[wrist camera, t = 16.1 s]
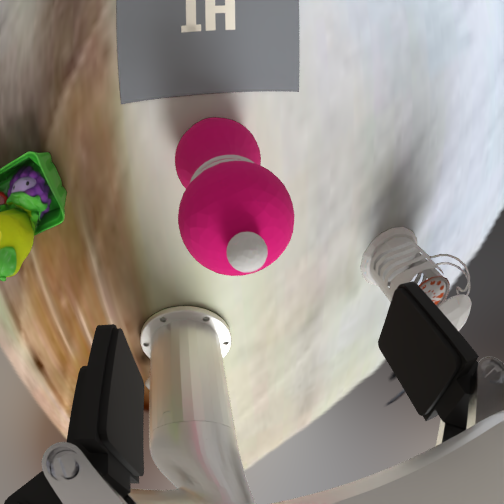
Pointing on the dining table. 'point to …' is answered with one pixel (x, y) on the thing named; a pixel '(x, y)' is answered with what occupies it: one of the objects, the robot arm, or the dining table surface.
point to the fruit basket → (27, 206)
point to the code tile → (206, 47)
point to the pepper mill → (230, 200)
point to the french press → (413, 272)
